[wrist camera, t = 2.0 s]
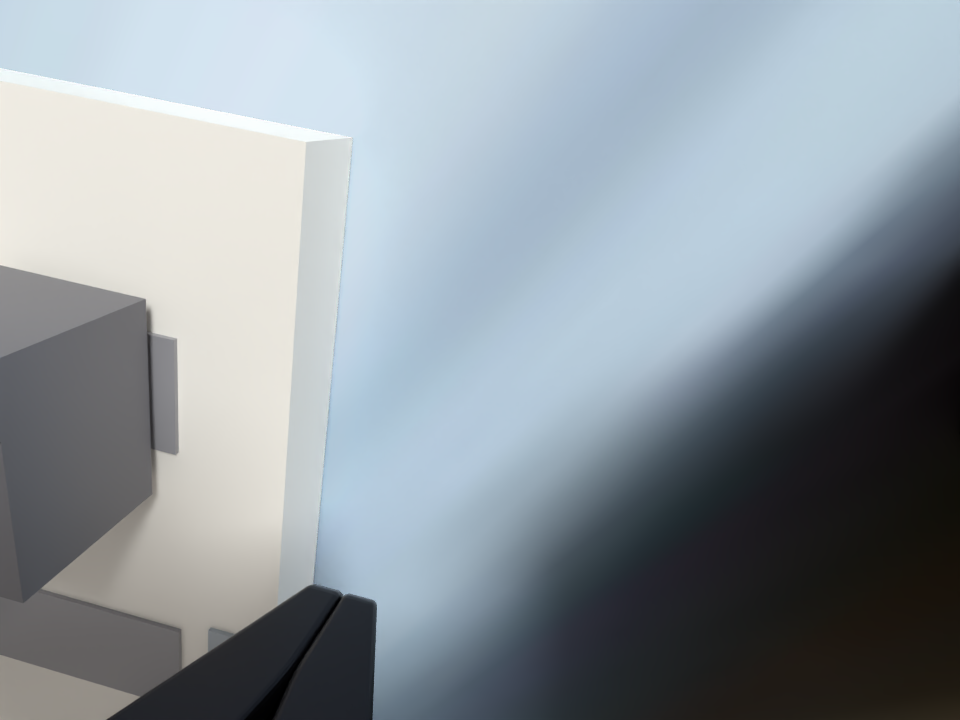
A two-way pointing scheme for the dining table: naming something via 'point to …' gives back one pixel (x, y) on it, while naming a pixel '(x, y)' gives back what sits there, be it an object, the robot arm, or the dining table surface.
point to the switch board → (179, 372)
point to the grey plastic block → (67, 422)
